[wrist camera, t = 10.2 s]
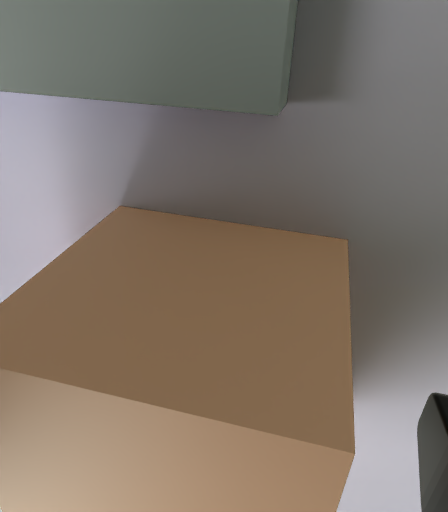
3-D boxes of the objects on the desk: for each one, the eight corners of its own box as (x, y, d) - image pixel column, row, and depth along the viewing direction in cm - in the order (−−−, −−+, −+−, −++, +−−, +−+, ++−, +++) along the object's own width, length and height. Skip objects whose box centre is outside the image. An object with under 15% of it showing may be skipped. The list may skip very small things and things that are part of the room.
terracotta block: (310, 405, 11) (291, 648, 7) (134, 366, 12) (19, 556, 8) (347, 237, 8) (355, 454, 4) (121, 204, 9) (-61, 353, 5)
